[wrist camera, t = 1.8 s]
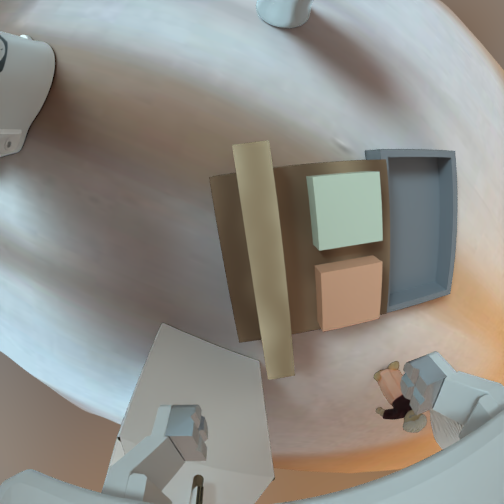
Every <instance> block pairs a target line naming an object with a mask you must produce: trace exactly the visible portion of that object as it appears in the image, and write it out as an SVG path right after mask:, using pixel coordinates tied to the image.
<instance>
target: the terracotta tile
mask: <svg viewBox="0 0 504 504" xmlns="http://www.w3.org/2000/svg"><path fill="white" fill-rule="evenodd" d="M315 280H316V299H317V321H318V323H319V325H320V327H321V329H322V331H323V332H325V331H330V330H334V329H339V328H343V327H347V326H352V325H356V324H360V323H364V322H368V321H372V320H376V319H379V317H380V305H381V289H382V261H381V260H379V259H378V258H376V257H375V256H373V255H371V256H366V257H360V258H355V259H349V260H343V261H337V262H332V263H326V264H320V265H315Z"/></svg>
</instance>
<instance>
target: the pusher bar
mask: <svg viewBox="0 0 504 504" xmlns="http://www.w3.org/2000/svg"><path fill="white" fill-rule="evenodd" d="M232 147H233V154H234V161H235V167H236V174H237V181H238V188H239V194H240V201H241V208H242V214H243V221H244V227H245V234H246V241H247V247H248V254H249V260H250V267H251V274H252V280H253V287H254V293H255V300H256V306H257V313H258V319H259V326H260V332H261V338H262V345H263V351H264V358H265V364H266V370H267V377H268V380H271V379H277V378H283V377H289V376H294V375H295V372H294V358H293V346H292V334H291V323H290V312H289V302H288V291H287V282H286V272H285V263H284V254H283V245H282V236H281V228H280V219H279V211H278V203H277V195H276V188H275V180H274V173H273V166H272V158H271V151H270V144H269V140H268V141H259V142H251V143H244V144H237V145H232Z"/></svg>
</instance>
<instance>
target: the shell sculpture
mask: <svg viewBox="0 0 504 504" xmlns="http://www.w3.org/2000/svg"><path fill="white" fill-rule="evenodd" d="M430 421H431V426H432V430H433V434H434V438H435V440H436V442H437V443H438V444H439V446H440V447H441V448H442V449H445V448H447V447H448V446H450V445H452V444H454V443H455V442H457V441H459V440H460V439H459V437H458V436H459V433H460V432H461V430H462V428H463V427H464V425H462V424H460V423H458V422H456V421H454V420H452V419H450V418H448V417H446V416H444V415H442V414H441V413H439V412H437V411H435V410H433V408H432V409H430Z"/></svg>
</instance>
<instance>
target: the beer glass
mask: <svg viewBox="0 0 504 504" xmlns="http://www.w3.org/2000/svg"><path fill="white" fill-rule="evenodd" d="M313 1H314V0H257V2H256V11H257V13H258V15H259V16H260V18H261V19H262V20H264V21H265V22H266V23H268V24H270V25H272V26H275V27H279V28H295V27H299V26H301V25H303V24H304V23H305V22H306V21H307V20H308V18H309V16H310V11H311V5H312V3H313Z"/></svg>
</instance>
